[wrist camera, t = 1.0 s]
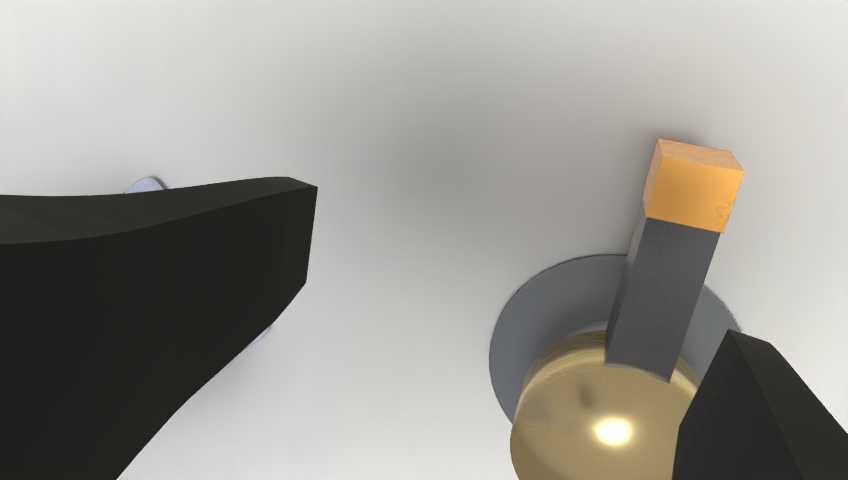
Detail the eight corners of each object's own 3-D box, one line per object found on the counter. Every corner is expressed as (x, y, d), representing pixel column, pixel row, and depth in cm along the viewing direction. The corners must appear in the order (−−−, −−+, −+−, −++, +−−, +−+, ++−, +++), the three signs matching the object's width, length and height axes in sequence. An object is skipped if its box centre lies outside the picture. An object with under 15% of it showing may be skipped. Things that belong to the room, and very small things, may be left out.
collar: (679, 506, 22) (686, 563, 20) (506, 455, 23) (494, 503, 21) (811, 165, 17) (838, 191, 15) (583, 122, 18) (578, 141, 16)
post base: (574, 499, 26) (570, 546, 24) (445, 325, 25) (429, 357, 23) (799, 417, 22) (818, 463, 20) (660, 207, 21) (665, 232, 19)
